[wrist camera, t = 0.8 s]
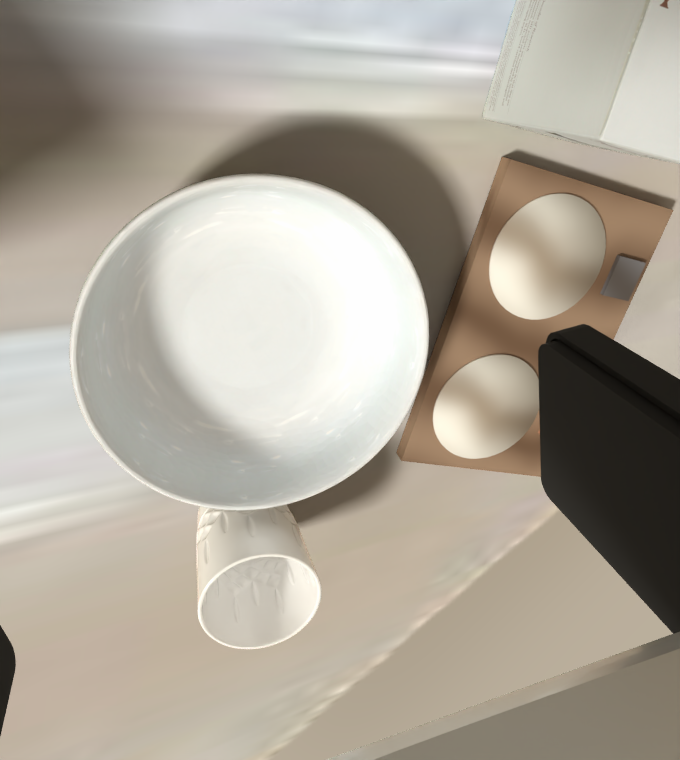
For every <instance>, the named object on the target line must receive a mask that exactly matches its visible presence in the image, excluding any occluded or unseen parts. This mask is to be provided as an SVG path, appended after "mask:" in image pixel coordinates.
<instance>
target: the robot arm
mask: <svg viewBox="0 0 680 760" xmlns="http://www.w3.org/2000/svg"><path fill="white" fill-rule="evenodd" d="M538 375H539V418H540V461H541V481H542V485H543V488H544V490H545V492H546V494H547V496H548V497H549V498H550V500H551V501H552V502H553V503H554V504H555V505H556V506H557V507H558V508H559V509H560V511H561V512H562V513H563V514H564V515H565V516H566V517H567V518H568V519H569V520H570V521H571V523H572V524H573V525H574V526H575V527H576V528H577V529H578V530H579V531H580V532H581V533H582V535H583V536H584V537H585V538H586V539H587V540H588V541H589V542H590V543H591V544H592V545H593V547H594V548H595V549H596V550H597V551H598V552H599V553H600V554H601V555H602V556H603V557H604V559H606V561H607V562H608V563H609V564H610V565H611V566H612V567H613V568H614V569H615V570H616V572H617V573H618V574H619V575H620V576H621V577H622V578H623V579H624V580H625V581H626V582H627V584H628V585H629V586H630V587H631V588H632V589H633V590H634V591H635V592H636V593H637V594H638V596H639V597H640V598H641V599H642V600H643V601H644V602H645V603H646V604H647V605H648V606H649V608H650V609H651V610H652V611H653V612H654V613H655V614H656V615H657V616H658V617H659V618H660V620H662V622H663V623H664V624H665V625H666V626H667V627H668V628H669V629H670V630H671V632H672V633H673V634H672V635H669V636H666V637H663V638H661V639H658V640H655V641H652V642H650V643H647V644H644V645H641V646H639V647H636V648H633V649H630V650H627V651H624V652H622V653H619V654H616V655H614V656H611V657H608V658H605V659H602V660H600V661H597V662H594V663H591V664H588V665H586V666H583V667H580V668H577V669H574V670H572V671H569V672H566V673H563V674H561V675H558V676H555V677H552V678H550V679H547V680H544V681H541V682H539V683H536V684H533V685H530V686H527V687H525V688H522V689H519V690H516V691H513V692H511V693H508V694H505V695H502V696H500V697H497V698H494V699H491V700H488V701H486V702H483V703H480V704H477V705H475V706H472V707H469V708H466V709H464V710H461V711H458V712H456V713H453V714H450V715H447V716H445V717H442V718H439V719H436V720H434V721H431V722H428V723H426V724H423V725H420V726H417V727H415V728H412V729H409V730H406V731H404V732H401V733H398V734H396V735H393V736H390V737H387V738H384V739H382V740H379V741H377V742H374V743H371V744H368V745H366V746H363V747H360V748H357V749H354V750H352V751H349V752H346V753H344V754H341V755H338V756H336V757H333V758H330V759H327V760H680V379H678V378H676V377H675V376H673V375H671V374H670V373H668V372H666V371H665V370H663V369H661V368H660V367H658V366H656V365H654V364H653V363H651V362H649V361H648V360H646V359H644V358H643V357H641V356H639V355H638V354H636V353H634V352H633V351H631V350H629V349H628V348H626V347H624V346H623V345H621V344H619V343H618V342H616V341H614V340H613V339H611V338H609V337H608V336H606V335H604V334H603V333H601V332H599V331H597V330H596V329H594V328H592V327H591V326H589V325H586V324H581V325H577V326H574V327H570V328H566V329H563V330H559V331H556V332H552V333H550V334H549V335H548V337H547V339H546V343H545V344H542V345H541V346H540V347H539V350H538ZM15 666H16V664H15V653H14V650H13V647H12V645H11V642H10V641H9V639H8V637H7V636H6V634H5V632H4V631H3V629H2V627H1V626H0V735H1V731H2V726H3V722H4V717H5V713H6V708H7V704H8V700H9V695H10V691H11V686H12V682H13V677H14V673H15Z"/></svg>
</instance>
